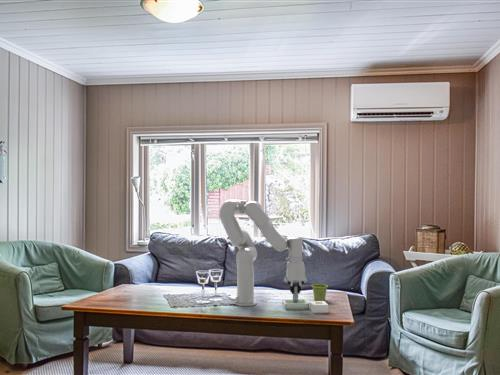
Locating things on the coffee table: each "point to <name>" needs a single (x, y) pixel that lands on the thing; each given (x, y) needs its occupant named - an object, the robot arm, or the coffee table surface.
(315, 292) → the plant pot
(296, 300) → the pin
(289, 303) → the tray
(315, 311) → the socket block
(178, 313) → the coffee table surface
